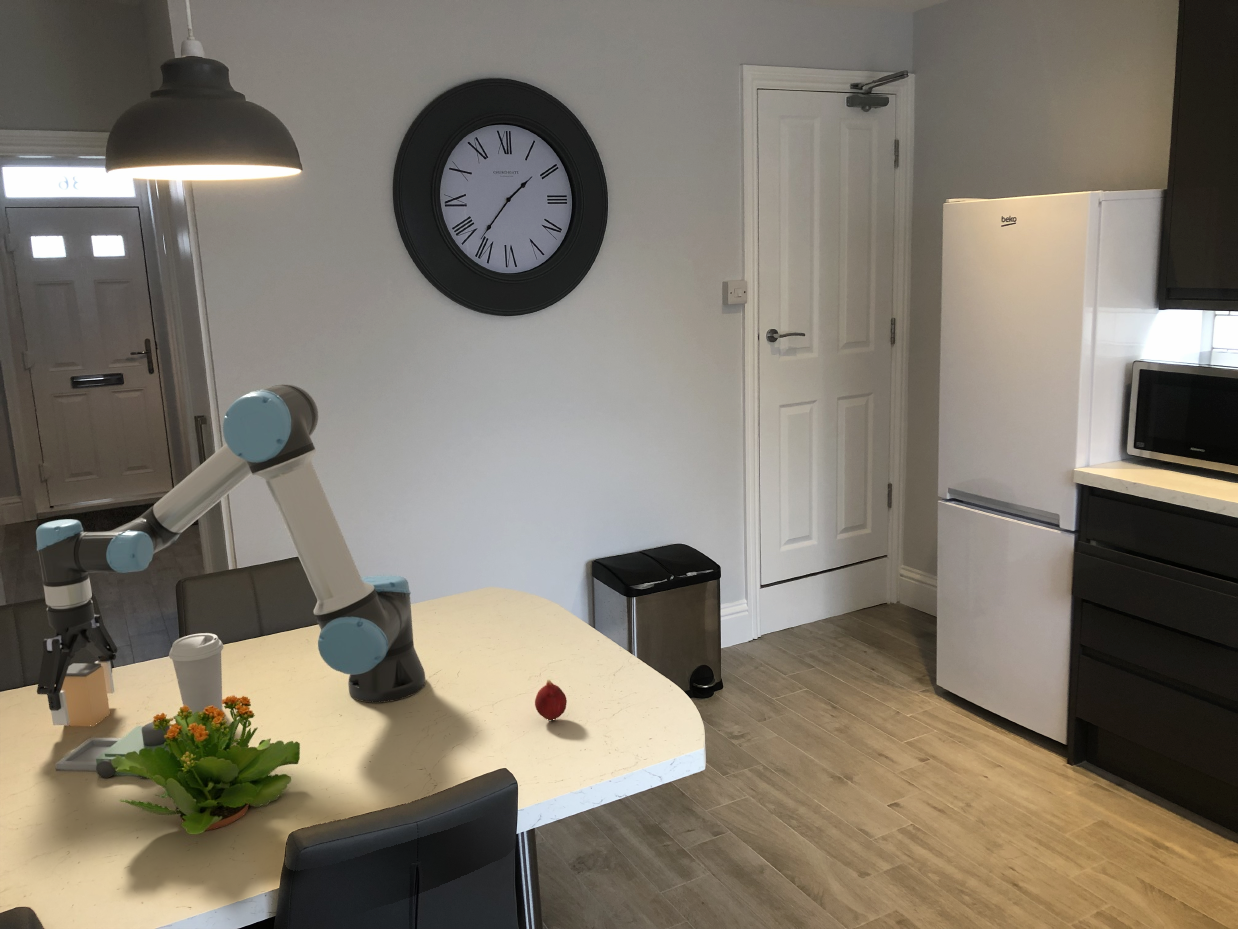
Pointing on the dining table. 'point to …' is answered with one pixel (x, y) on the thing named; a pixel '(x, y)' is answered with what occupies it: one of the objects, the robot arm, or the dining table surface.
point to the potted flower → (211, 766)
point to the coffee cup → (198, 670)
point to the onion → (550, 701)
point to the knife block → (85, 694)
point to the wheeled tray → (112, 751)
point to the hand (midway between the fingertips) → (85, 708)
